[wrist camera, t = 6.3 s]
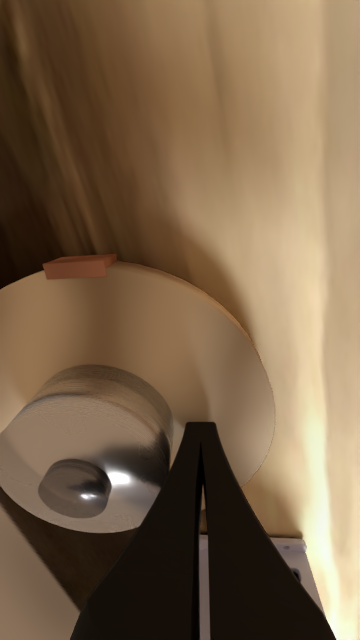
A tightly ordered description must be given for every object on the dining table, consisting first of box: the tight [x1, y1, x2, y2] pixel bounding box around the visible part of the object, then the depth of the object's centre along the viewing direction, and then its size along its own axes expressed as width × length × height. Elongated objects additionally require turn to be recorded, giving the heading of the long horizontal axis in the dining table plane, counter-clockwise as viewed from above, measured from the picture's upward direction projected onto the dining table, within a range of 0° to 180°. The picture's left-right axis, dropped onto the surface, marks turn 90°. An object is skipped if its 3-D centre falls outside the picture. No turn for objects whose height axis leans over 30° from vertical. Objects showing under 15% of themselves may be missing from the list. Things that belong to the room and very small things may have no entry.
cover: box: [0, 364, 174, 533], centre depth 11 cm, size 7×7×4 cm
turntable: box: [0, 254, 275, 510], centre depth 13 cm, size 16×16×2 cm
